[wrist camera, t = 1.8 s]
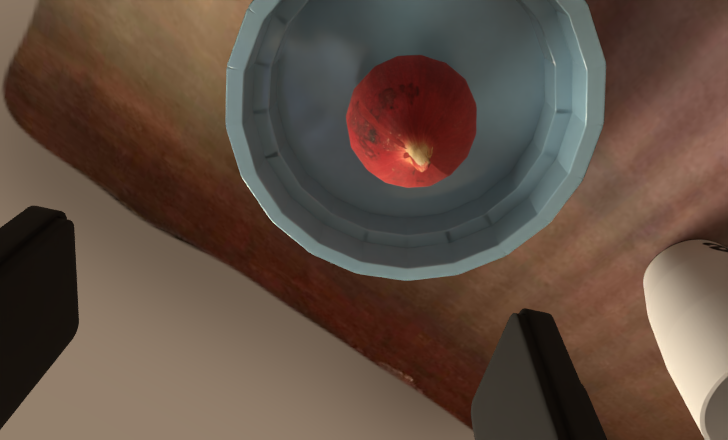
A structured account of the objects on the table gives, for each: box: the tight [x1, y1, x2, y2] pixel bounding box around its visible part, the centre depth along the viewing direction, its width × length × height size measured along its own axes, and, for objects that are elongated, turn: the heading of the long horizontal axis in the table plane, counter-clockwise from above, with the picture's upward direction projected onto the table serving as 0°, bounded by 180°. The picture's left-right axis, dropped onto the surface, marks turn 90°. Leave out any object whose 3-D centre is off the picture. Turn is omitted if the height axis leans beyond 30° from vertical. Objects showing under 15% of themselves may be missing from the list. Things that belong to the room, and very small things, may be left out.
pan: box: [226, 0, 606, 281], centre depth 25 cm, size 17×17×4 cm
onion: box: [346, 55, 477, 188], centre depth 24 cm, size 6×6×8 cm
